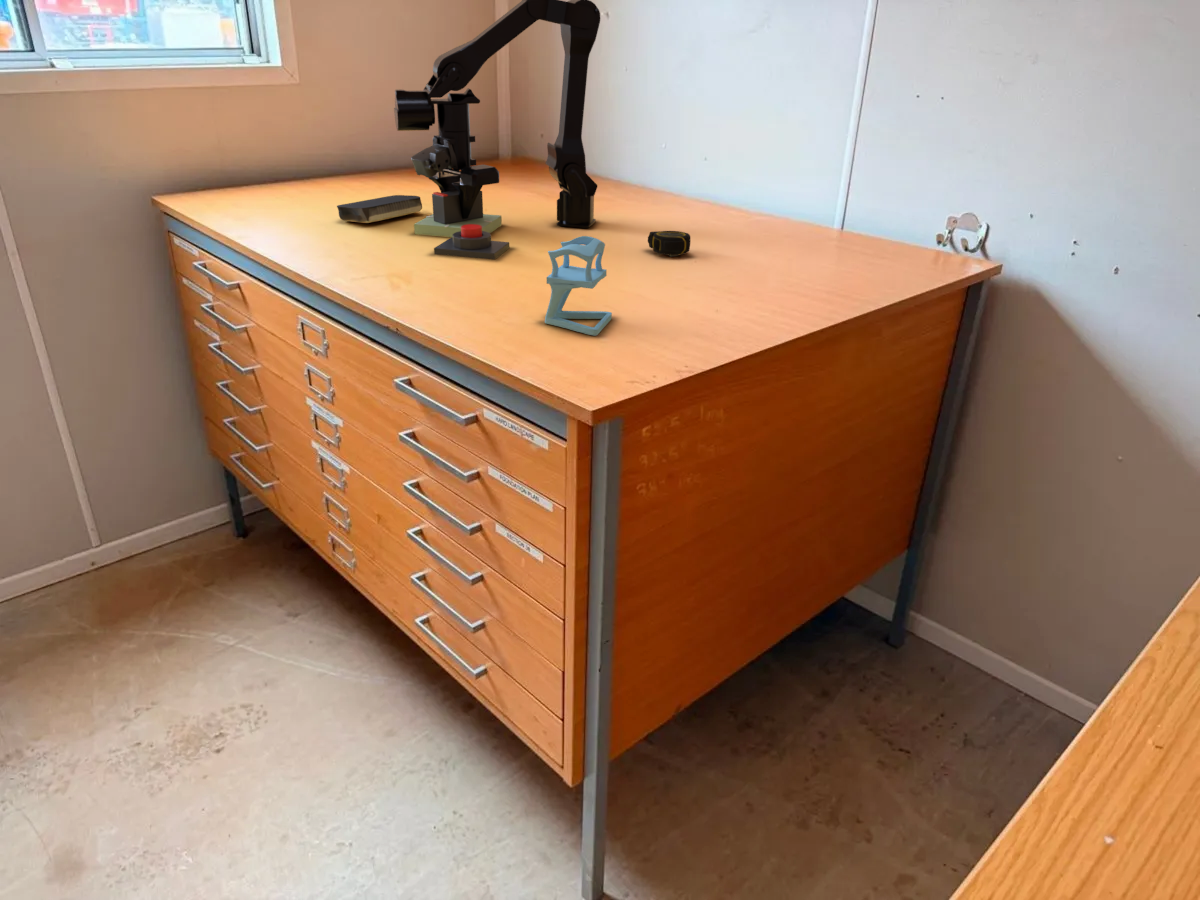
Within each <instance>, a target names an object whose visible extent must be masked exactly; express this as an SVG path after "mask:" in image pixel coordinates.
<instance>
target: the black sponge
mask: <svg viewBox="0 0 1200 900" xmlns="http://www.w3.org/2000/svg"><path fill="white" fill-rule="evenodd" d="M336 208H337V209H338V210H337V212H338V217H339V219H340V220H341V221H346V222H351V223H352V222H355V223H362V224H369V223H374V222H379V221H384V220H389V219H393V218H398V217H403V216H406V215H407V216H408V215H410V214H415V213H419V212H421V211H422V209H423V203H422V200H421V197H420V196H417V195H405V194H393V195H387V196H383V197H376V198H370V199H366V200H365V199H364V200H361V201H355V202H348V203H343V204H338V205H336Z"/></svg>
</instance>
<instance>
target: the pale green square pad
mask: <svg viewBox="0 0 1200 900" xmlns="http://www.w3.org/2000/svg"><path fill="white" fill-rule="evenodd" d="M502 221H503V218H502V215H500V214H489V213H483V218H478V219H472V220H466V221H461V222H455V223H450V224H442V223H439V222H436V221H434V217H433V213H432V214H429V215H426V216H425V217H424V218H423V219H421V220H418V221H417V222H415V223H413V227H414V228H413V229H414V235H421V236H430V237H432V236H433V237H445V238H451V237H453V236H452V234H454V233H456V232H460V231H461V226H463V225H467V224H476V225H480V226H482V231H485V232H488V233H490V234H492V233H493V232H494V231H495V230H498V229H499V228H500V227H501V226H503V223H502Z"/></svg>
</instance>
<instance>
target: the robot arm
mask: <svg viewBox="0 0 1200 900" xmlns="http://www.w3.org/2000/svg"><path fill="white" fill-rule="evenodd" d="M539 20H540V21H544V22H549V23H551V24H552V23H553V24H557V25H560V35H561V36H560V37H561V41H562V46H563V50H564V61H563V73H562V86H561V87H562V88H561V97H560V98H561V99H560V110H559V111H560V112H559V122H558V124H559V126H558V134H557V137H556V139H555V141H554V143H552V142H547V143H546V145H547V147H546V149H547V158H546V161H545V165H546V166H547V167H548V172H549V174H550V176H551V177H552V178H553V179H554V180H555V181H556V182H557V184H558V187H559V189H561V191H559V195H558V197H559V198H557V199H556V220H557V222H556V227H557V226H558V227H568V228H569V227H570V228H580V229H581V228H582V229H588V228H590V227H592V225H594V224H595V223H596V221H597V219H596V218H594V216H595V213H594V211H595V195H596V193H597V189H598V184H597V183H596V182H595V181H594V179H593V178H592V177H590V176H589V175H588V173H587V163H586V162H587V161H586V153H585V147H584V143H583V139H582V135H583V124H584V112H585V101H586V90H587V81H588V69H589V68H588V67H589V58H590V54H591V51H592V49H593V47H594V45H595V43H596V39H597V36H598V32H599V29H600V24H601V12H600V9H599V8H598V6H597V5H596V4H595V2H593V1H592V0H568V1H564V0H521V1H519V3H517V4H516V5H514V6H513V7H512V8H511V9H509V10H508V11H507V12H505V14H503V15H502V16H501V17H499V18H498V19H497V20H495V21H494V22H493V23H491V24H490V25H489V26H488V27H486V28H485V29H484V30H483V31H481V32H480V33H479V34H478V35H476V36H475V37H474V38H473V39H471V40H469V41H467V42H466V43H462V44H461V45H458V46H455V47H454V48H452V49H450V50H448V51H445V52H444V53H442V54H440V55H438V56H437V58H436V59H435V60H434V62H433V65H432V75H431V77H430V79H429V80H428V82H427V83H425V84H426V85H425V86H424V88H423V89H422V90H405V89H395V90H394V107H393V112H394V113H393V114H394V123H395V128H396V131H397V132H410V131H412V132H414V131H416V132H417V131H430V127H433V125H435V124H436V114H437V132H438V134H434V135H433V137H432V145H431V146H429V147H426V148H424V149H422V150H420V151H419V152H417V153H415V154H414V155H412V156H411V157H410V160H411V162H412V165H413V168H414V172H415V173H416V175H417V176H424V177H425V178H427V179H428V180H430V181H432V182H433V183H434V184H435V185H437V187H438V188H439V191H440V193H442V192H448V191H455V190H458V193H459V201H460V209H461V215H462V218H463V219H467V218H468V217H469V214H470V212H471V210H472V207H473V205H474V202H475V200H476V198H477V196H478V194H479V192H480V191H482V188H483V186H488V185H494V184H500V171H499V169H498V168H496V167H495V166H492V165H487V164H484V163H483V164H477V159H475V158H472V147H471V146H472V143H476V135H472V134H471V121H470V105H471V104H472V105H475V104H477V105H478V104H480V103H481V100H480V98H478V97H477V96H476V95H475V94H474V92H473V90H472V89H471V88H466V90H465V91H464V92H458V91H461V90H463V89H464V88H465V87H467V85H468V84H469V83H470V82H471V81H472V80H473V79H474V77H475V76H476V75H477V74H478V73H479V71H480V70H481V68H482V67H483V66H484V64H485V63H486V62H487V61H488V60H489V59H490V58H491V57H492V56H494V55H495V54H496V53H498V52H500V50H502V49H503V48H504V47H505V46H507V45H508V44H509V43H510V42H511V41H513V40H514V39H515V38H517V37H518V36H520V34H522V33H524V31H526V30H527V29H528V28H529V27H531V26H532V25H533V24H535V23H536V22H537V21H539ZM451 91H452V93H451ZM446 95H447V98H443V97H444V96H446ZM435 105H436V109H435ZM435 110H436V111H435Z"/></svg>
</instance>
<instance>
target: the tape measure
mask: <svg viewBox="0 0 1200 900" xmlns="http://www.w3.org/2000/svg"><path fill="white" fill-rule="evenodd" d="M647 244H648V247H649V248H650V249H652V250H653V252H654V253H657V254H660V255H666V256H669V257H680V255H685V254H687V253H689V251H690V249H691V235H690V233H688V232H684V231H680V230H679V231H678V230H660V231H656V230H655V231H650V232H649V233H648V236H647Z"/></svg>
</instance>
